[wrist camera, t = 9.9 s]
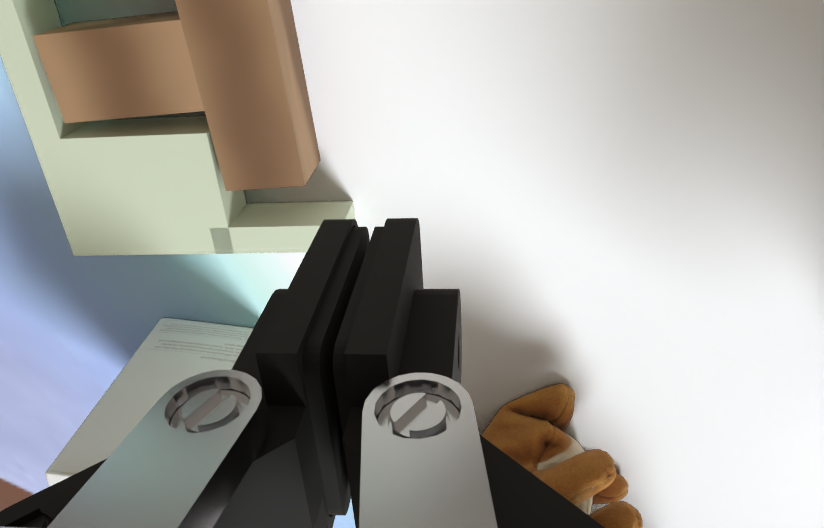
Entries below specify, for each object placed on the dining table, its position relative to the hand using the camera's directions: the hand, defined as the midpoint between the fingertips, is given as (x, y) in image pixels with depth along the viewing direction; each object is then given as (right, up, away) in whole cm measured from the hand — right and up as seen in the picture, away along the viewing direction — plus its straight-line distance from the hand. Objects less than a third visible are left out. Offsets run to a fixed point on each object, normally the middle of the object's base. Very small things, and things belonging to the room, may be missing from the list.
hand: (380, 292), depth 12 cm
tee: (-10, +11, +21) cm, 25 cm away
